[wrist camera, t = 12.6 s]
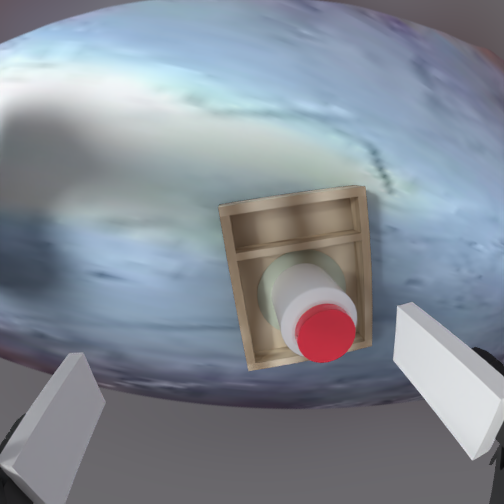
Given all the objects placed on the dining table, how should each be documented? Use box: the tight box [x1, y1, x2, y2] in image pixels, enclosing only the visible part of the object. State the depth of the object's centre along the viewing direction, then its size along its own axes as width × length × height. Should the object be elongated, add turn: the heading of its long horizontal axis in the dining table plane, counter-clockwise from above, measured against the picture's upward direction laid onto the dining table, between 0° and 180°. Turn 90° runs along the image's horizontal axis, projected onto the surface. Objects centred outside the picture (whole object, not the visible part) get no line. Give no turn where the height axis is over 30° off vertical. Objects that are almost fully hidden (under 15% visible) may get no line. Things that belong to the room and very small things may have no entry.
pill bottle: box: [271, 263, 357, 363], centre depth 32 cm, size 8×8×11 cm
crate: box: [218, 185, 372, 371], centre depth 37 cm, size 16×20×4 cm
